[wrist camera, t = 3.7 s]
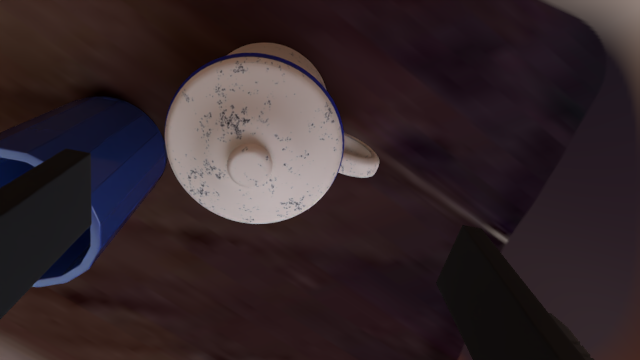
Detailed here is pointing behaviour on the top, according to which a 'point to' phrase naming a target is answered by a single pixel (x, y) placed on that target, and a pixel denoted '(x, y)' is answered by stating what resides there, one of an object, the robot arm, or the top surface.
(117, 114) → the pen pot
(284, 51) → the teacup with lid
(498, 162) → the top surface
